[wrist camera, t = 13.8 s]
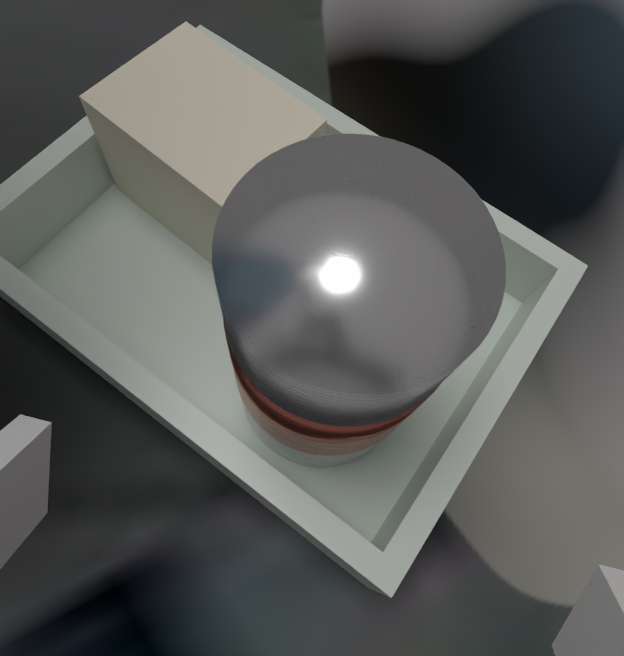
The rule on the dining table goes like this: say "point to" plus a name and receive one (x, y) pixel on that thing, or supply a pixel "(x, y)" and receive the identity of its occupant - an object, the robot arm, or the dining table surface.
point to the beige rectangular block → (190, 129)
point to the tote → (215, 362)
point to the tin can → (350, 290)
